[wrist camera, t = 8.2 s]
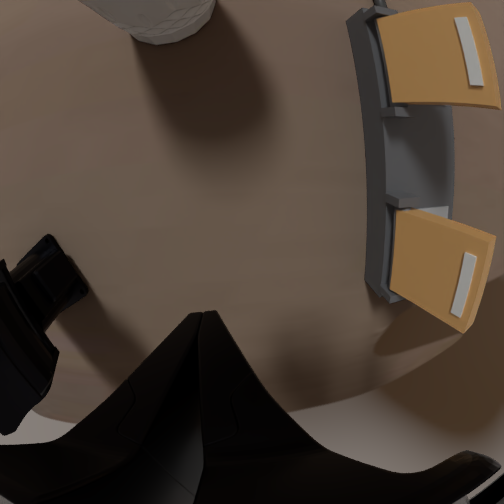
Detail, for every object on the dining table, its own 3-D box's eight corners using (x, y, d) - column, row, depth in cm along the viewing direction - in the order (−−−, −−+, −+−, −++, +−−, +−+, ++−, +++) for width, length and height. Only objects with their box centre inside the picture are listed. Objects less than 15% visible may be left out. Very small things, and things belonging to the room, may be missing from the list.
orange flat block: (382, 288, 19) (461, 337, 12) (388, 205, 17) (488, 239, 10) (395, 281, 20) (472, 325, 13) (402, 201, 17) (496, 233, 10)
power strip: (363, 280, 23) (388, 310, 19) (321, -53, 11) (339, -80, 6) (424, 266, 23) (453, 290, 19) (391, -37, 11) (416, -56, 6)
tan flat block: (383, 105, 14) (496, 109, 7) (367, 18, 11) (468, -2, 5) (397, 107, 14) (501, 113, 8) (382, 24, 12) (478, 10, 5)
